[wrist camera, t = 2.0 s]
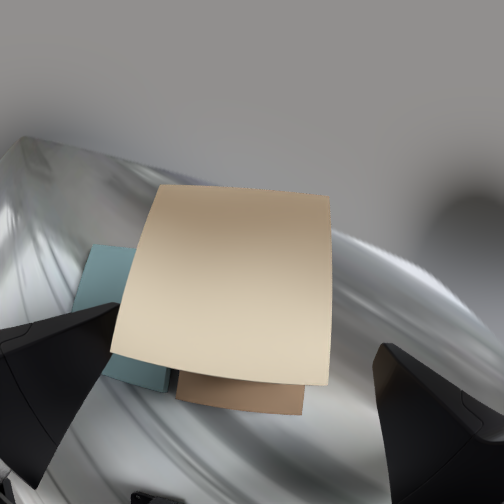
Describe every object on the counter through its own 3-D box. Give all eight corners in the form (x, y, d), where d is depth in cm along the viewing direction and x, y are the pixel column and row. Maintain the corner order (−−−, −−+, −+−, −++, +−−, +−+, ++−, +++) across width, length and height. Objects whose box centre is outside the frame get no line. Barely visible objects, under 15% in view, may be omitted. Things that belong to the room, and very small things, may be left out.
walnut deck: (294, 410, 15) (301, 415, 13) (188, 396, 16) (175, 398, 13) (304, 297, 19) (311, 281, 16) (206, 287, 19) (198, 270, 17)
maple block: (282, 384, 13) (327, 385, 5) (201, 374, 14) (109, 351, 5) (289, 307, 15) (329, 196, 7) (213, 299, 16) (160, 184, 7)
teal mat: (167, 392, 16) (162, 392, 15) (68, 360, 16) (61, 358, 16) (192, 260, 20) (189, 254, 20) (98, 249, 21) (93, 244, 20)
